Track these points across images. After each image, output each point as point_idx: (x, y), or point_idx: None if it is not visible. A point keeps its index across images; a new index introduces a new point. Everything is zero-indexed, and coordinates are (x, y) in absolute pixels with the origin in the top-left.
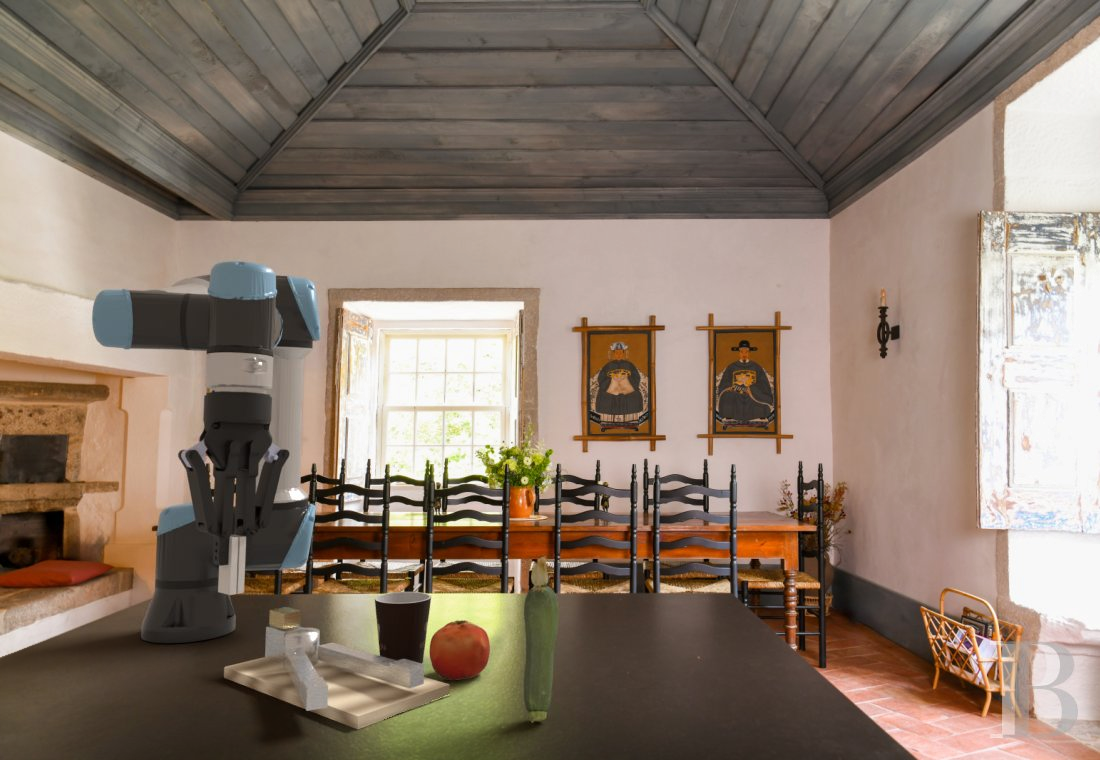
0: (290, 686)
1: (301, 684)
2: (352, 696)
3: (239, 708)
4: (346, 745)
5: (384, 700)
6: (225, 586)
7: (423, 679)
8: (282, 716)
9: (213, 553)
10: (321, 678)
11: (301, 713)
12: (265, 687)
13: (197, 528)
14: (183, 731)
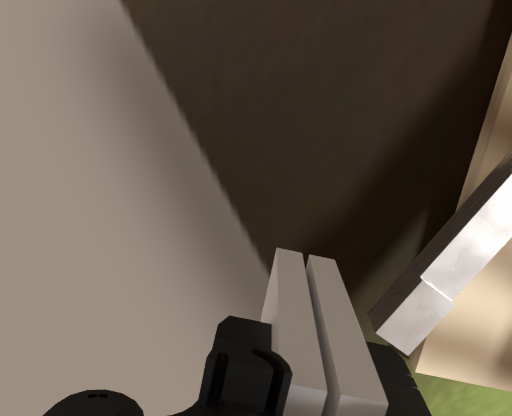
0: (509, 138)
1: (422, 271)
2: (502, 298)
3: (407, 87)
4: None
5: (505, 363)
6: (264, 311)
7: None
8: (406, 200)
9: (214, 346)
10: (443, 312)
11: (434, 221)
12: (509, 60)
13: (55, 411)
14: (268, 93)
